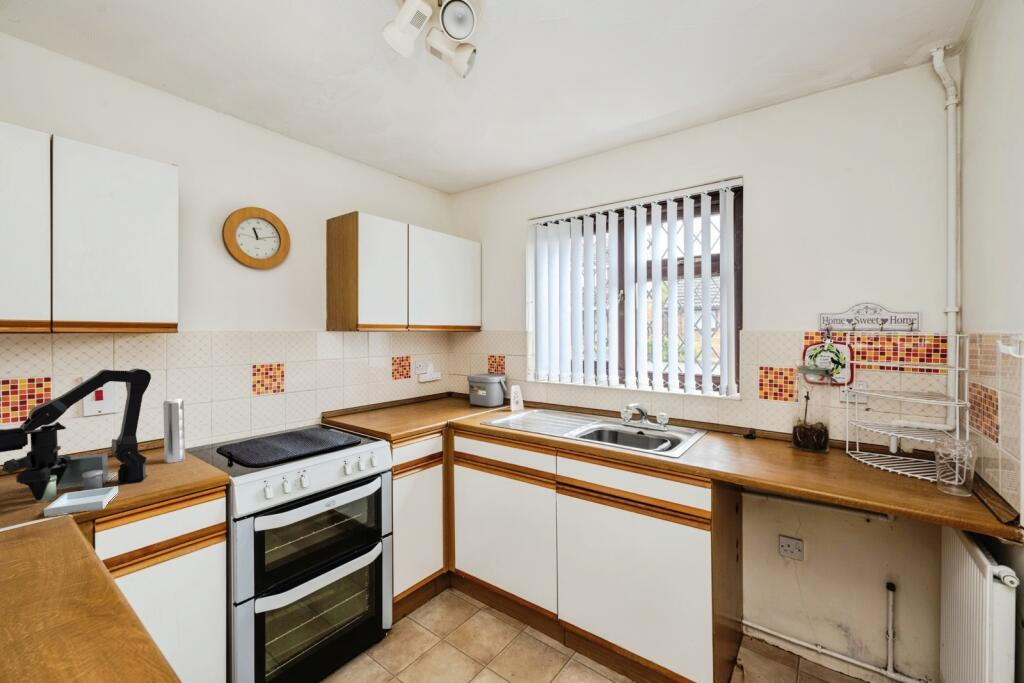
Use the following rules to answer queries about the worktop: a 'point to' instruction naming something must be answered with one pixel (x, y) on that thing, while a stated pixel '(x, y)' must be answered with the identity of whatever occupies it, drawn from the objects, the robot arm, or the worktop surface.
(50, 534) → the worktop surface
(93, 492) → the tray
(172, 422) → the silver metal cylinder
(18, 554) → the worktop surface
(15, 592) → the worktop surface
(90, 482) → the grey cup
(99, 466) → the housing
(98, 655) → the worktop surface
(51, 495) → the cylinder
